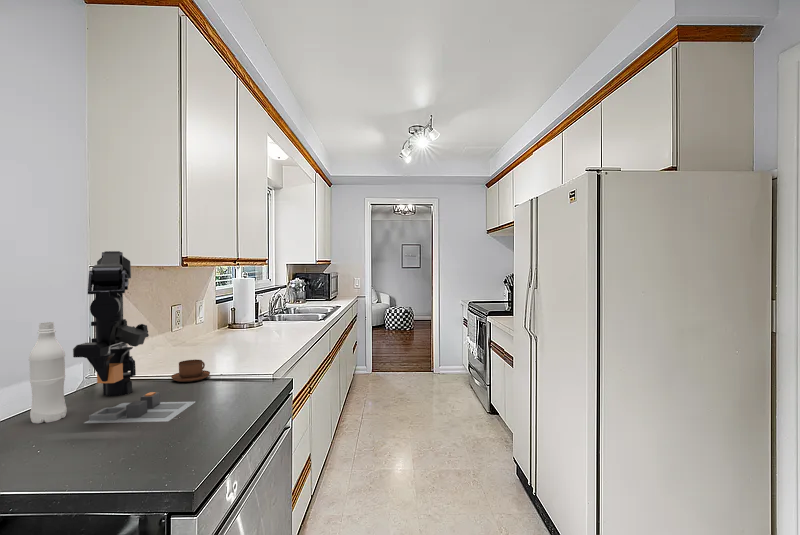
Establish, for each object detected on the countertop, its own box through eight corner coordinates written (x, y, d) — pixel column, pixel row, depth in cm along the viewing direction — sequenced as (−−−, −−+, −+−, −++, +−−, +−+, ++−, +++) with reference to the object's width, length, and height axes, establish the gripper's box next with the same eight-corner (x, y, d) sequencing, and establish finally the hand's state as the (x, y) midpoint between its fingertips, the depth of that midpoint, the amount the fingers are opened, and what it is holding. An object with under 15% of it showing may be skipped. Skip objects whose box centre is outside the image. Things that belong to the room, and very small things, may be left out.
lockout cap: (97, 383, 116) (96, 367, 116) (107, 379, 120) (106, 363, 120) (113, 383, 116) (113, 366, 116) (123, 378, 120) (122, 363, 120)
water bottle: (73, 421, 119) (71, 321, 119) (44, 431, 112) (41, 325, 112) (53, 418, 122) (51, 320, 121) (23, 428, 115) (20, 324, 114)
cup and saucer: (182, 375, 167) (181, 358, 167) (215, 375, 167) (215, 358, 167) (164, 384, 155) (163, 365, 155) (200, 384, 155) (200, 365, 155)
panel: (83, 429, 113) (83, 410, 113) (121, 408, 129) (121, 391, 129) (168, 427, 113) (167, 408, 113) (196, 407, 129) (195, 390, 129)
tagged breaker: (140, 408, 123) (140, 395, 123) (148, 403, 127) (148, 391, 127) (152, 408, 123) (152, 395, 123) (160, 403, 127) (159, 391, 127)
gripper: (119, 320, 109) (121, 388, 109) (159, 311, 127) (161, 370, 128) (70, 321, 109) (72, 389, 109) (117, 312, 127) (119, 370, 127)
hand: (110, 379), depth 118 cm, fingers closed on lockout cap, 4 cm apart
